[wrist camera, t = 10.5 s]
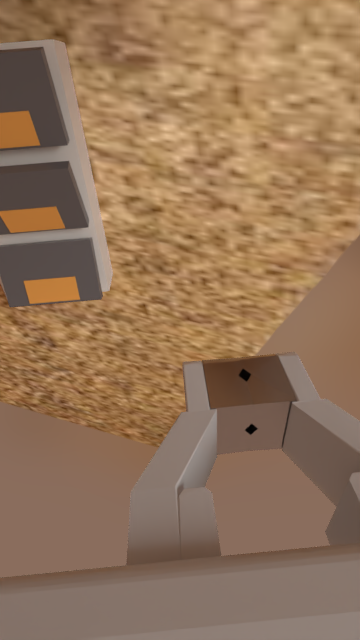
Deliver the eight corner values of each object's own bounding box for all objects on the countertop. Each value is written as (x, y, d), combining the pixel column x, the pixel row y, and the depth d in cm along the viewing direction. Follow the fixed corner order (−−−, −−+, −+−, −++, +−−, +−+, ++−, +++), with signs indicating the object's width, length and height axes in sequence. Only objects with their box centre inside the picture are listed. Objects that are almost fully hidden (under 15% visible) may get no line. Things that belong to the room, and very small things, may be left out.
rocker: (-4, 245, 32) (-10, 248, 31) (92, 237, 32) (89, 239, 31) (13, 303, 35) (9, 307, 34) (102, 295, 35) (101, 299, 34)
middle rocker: (-48, 170, 27) (-52, 178, 26) (69, 160, 27) (67, 169, 26) (-9, 228, 32) (-12, 236, 31) (89, 220, 32) (88, 228, 31)
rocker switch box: (-73, 53, 27) (-103, 51, 24) (64, 42, 27) (53, 39, 24) (19, 281, 39) (7, 299, 36) (112, 273, 40) (109, 290, 36)
